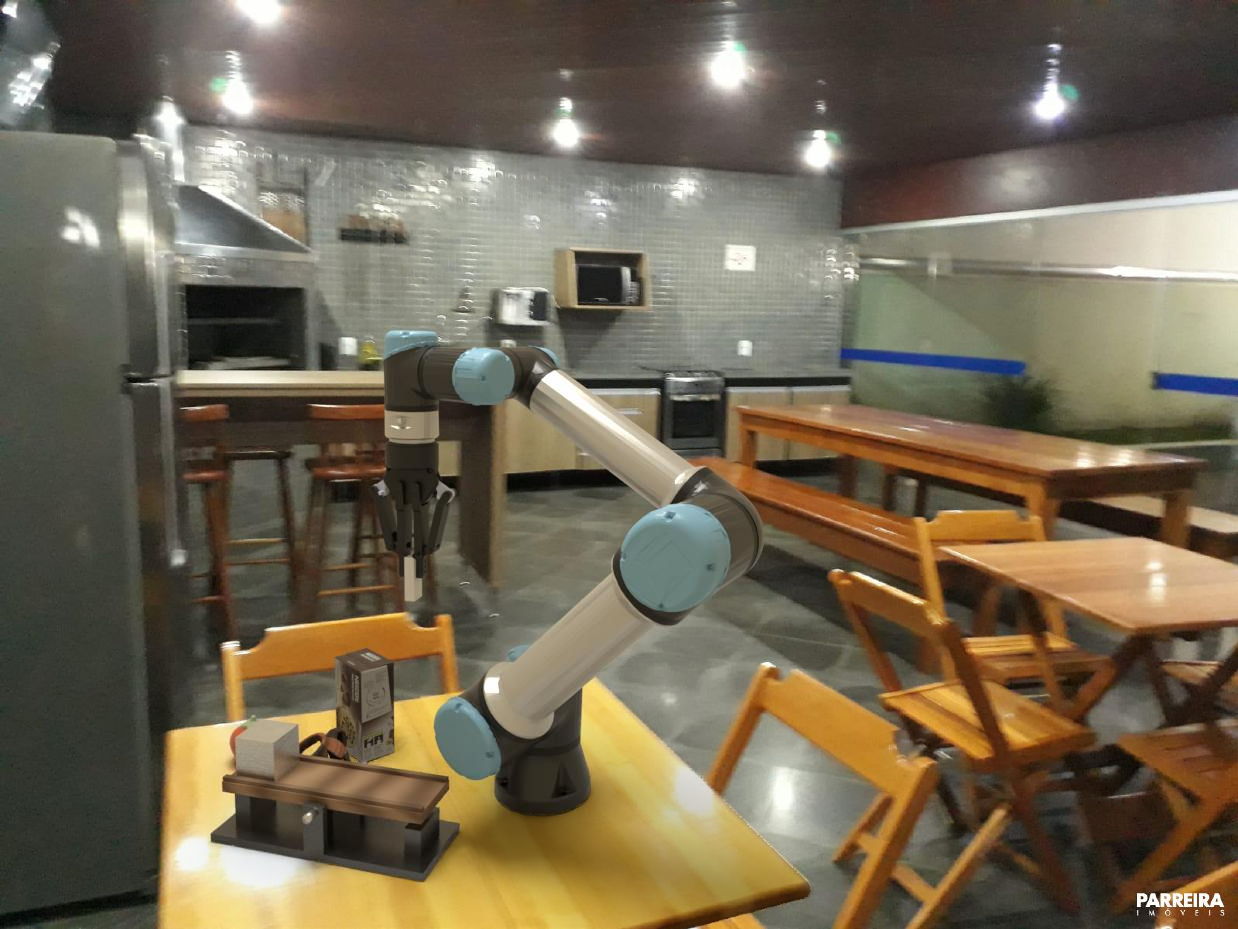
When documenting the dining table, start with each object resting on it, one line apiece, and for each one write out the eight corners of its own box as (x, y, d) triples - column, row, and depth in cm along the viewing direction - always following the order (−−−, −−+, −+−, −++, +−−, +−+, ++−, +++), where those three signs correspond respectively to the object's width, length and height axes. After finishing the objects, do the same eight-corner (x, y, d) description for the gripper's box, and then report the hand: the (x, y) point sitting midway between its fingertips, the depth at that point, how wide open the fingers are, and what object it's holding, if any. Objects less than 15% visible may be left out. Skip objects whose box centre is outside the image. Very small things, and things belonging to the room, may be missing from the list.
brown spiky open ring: (349, 798, 134) (320, 760, 131) (299, 816, 136) (269, 779, 133) (373, 743, 145) (346, 707, 142) (326, 760, 147) (298, 725, 144)
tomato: (280, 767, 141) (279, 721, 140) (230, 776, 138) (228, 729, 136) (277, 746, 147) (276, 702, 146) (229, 754, 144) (228, 709, 143)
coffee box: (396, 752, 147) (395, 661, 145) (361, 764, 143) (360, 672, 140) (368, 733, 153) (367, 646, 151) (334, 744, 149) (333, 655, 146)
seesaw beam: (449, 789, 123) (449, 775, 123) (421, 824, 114) (420, 809, 114) (262, 760, 129) (261, 747, 129) (222, 791, 121) (221, 777, 120)
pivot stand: (464, 824, 127) (464, 774, 126) (417, 889, 112) (417, 833, 111) (270, 791, 134) (268, 743, 132) (202, 848, 119) (200, 794, 118)
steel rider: (299, 762, 126) (298, 724, 125) (274, 783, 120) (273, 743, 119) (263, 757, 127) (261, 719, 127) (236, 777, 122) (234, 737, 121)
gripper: (357, 440, 121) (360, 602, 125) (444, 445, 119) (445, 610, 123) (381, 434, 129) (384, 587, 132) (464, 438, 126) (464, 594, 130)
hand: (413, 598), depth 127 cm, fingers closed
